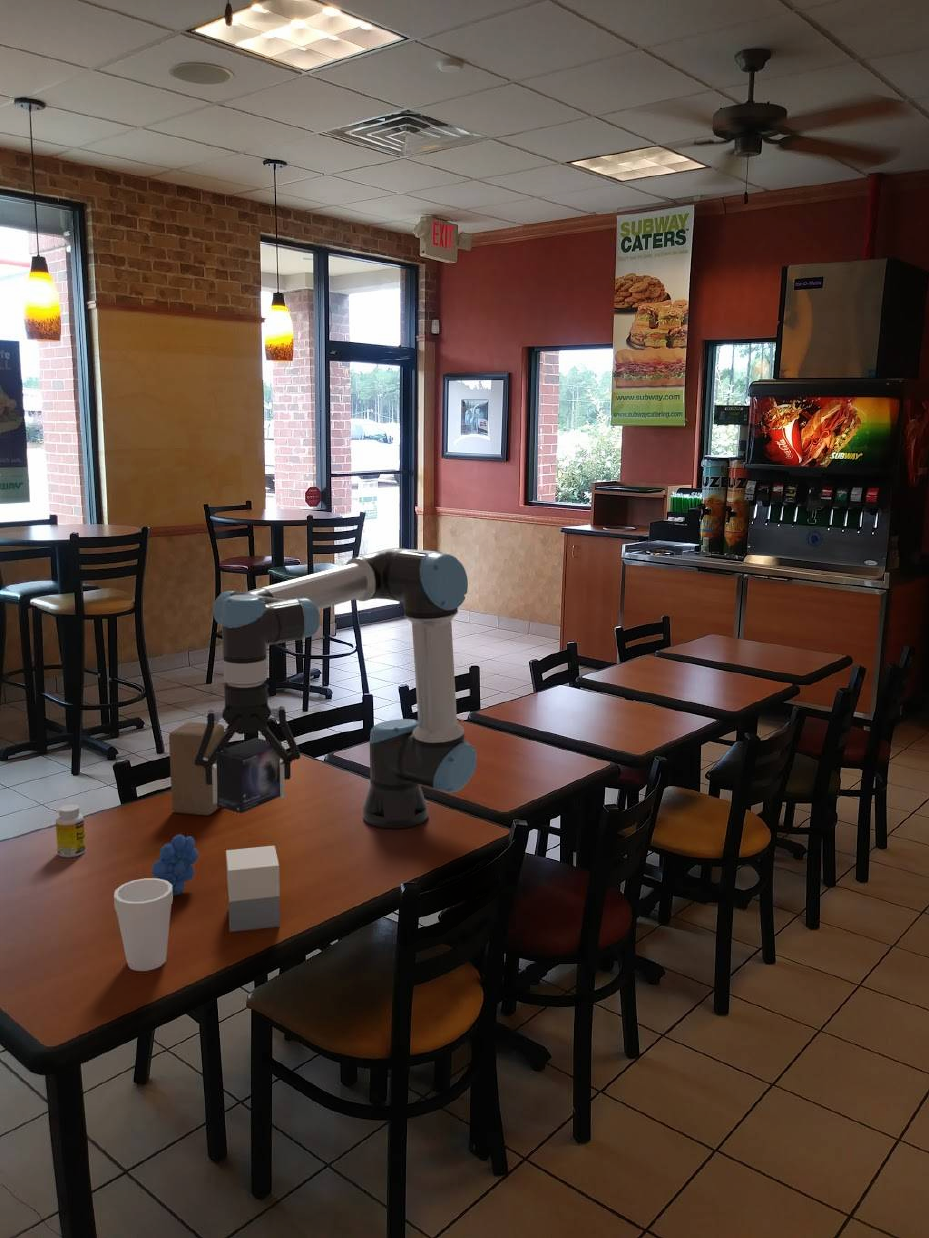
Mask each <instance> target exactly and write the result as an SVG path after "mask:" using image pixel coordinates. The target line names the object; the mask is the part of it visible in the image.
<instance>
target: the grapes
mask: <svg viewBox="0 0 929 1238" xmlns="http://www.w3.org/2000/svg"><path fill="white" fill-rule="evenodd" d="M195 844H196V841H195V839H194V837H193V836H192V835H191V836H190V835H188V836H186V837H185V835H183V834H182V833H179V834H176V835H175V836H174V837H173V838H172V840H171V842H169V843H165V844H164V845H163V846H162V847H161V848H160V850H159V858H160V859H159V860H157V861H155V862H154V863H153V865H152V867H151V874H152V875H153V877H154V878H158V879H162V880H167V881H168V882H169V883H170V884H172V891H173V896H178V895H180V894H182V892H183V891H184V889H185V882H189V881H190V880H192V878H193V877H194V875H195V868H194V867H193V864H194V863H196V862H197V860H198V859H199V852H198V850H197V849H196V848H195Z"/></svg>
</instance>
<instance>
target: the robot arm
mask: <svg viewBox="0 0 929 1238" xmlns="http://www.w3.org/2000/svg"><path fill="white" fill-rule="evenodd" d="M468 586H469V581H468V575H467V571H466V568H465V566H464V565H463V563H462V562H461V561H460V560H458V558H457V557H456V556H454V555H451V554H448V553H443V552H442V551H437V550H436V551H433V550H425V549H424V550H422V549H411V548H407V547H405V548H403V547H393V548H386V549H382V550H379V551H374V552H371V553H367V554H363V555H360V556H357V557H353V558H350V559H349V560H348V561H346V563H345V565H341V566H338V567H337V566H336V567H334V568H331V569H330V568H329V569H327V570H323V571H318V572H315V573H311V574H307V575H303V576H301V577H296V578H293V579H289V580H286V581H285V580H284V581H282V582H278V583H274V584H271V585H266V586H263V587H260V588H255V589H252V590H247V591H239V590H227V591H224V592H222V593H221V594H219V595H218V596H217V597H216V599H215V601H214V603H213V608H212V611H213V612H212V613H213V618H214V620H215V621H216V623H217V624H218V625H219V627H221V633H222V635H221V636H222V637H221V638H222V639H221V640H222V652H223V653H222V654H223V655H222V656H223V657H222V658H223V659H222V660H223V662H222V663H223V665H222V666H223V680H224V682H225V685H224V686H223V688H224V689H223V690H224V694H223V695H224V708H223V710H222V711H214V710H213V709H212V710H211V709H210V710H208V711H207V716H206V718H207V719H206V723H207V726H206V728H205V731H204V734H203V737H202V740H201V743H200V745H199V748H198V751H197V754H196V757H195V765H197V766H203V767H204V768H205V772H206V784H207V785H213V804H215V803H217V765H216V764H214V763H215V761H216V760H217V756H216V752H217V751H223V749H224V748H225V749H226V746H227V745H228V743H229V742H230V740H231V739H232V738H233V737H234V735H235V734H238V735H244V734H247V733H249V734H257V733H258V732H259V733H260V734H261V735H262V737H264V738H265V740H266V741H268V742H269V743H270V745H271V746H272V747H273V749H274V750H275V751H276V752H277V754H278V755H279V756H280V760H279V771H280V797H279V798H280V800H282V799H283V800H284V799H286V785H285V784H286V783H285V780H290V779H291V777H292V776H291V775H292V773H291V770H292V769H291V763H292V762H293V761H295V760H299V759H301V753H300V749H299V747H298V744H297V743H296V740H295V737H294V736H293V733H292V731H291V729H290V727H289V724H288V721H287V714H286V709H285V707H284V706H283V705H282V706H281V705H280V706H279V707H277V708H270V707H269V704H268V703H269V702H268V683H267V682H266V681H267V680H268V666H267V660H268V659H267V656H268V655H267V649H268V648H267V646H271V645H276V644H282V643H287V642H288V643H289V642H294V641H301V640H303V639H307V638H309V637H312V636H314V635H315V634H316V633H317V631H318V630H319V628H320V625H321V621H320V620H321V618H320V617H321V615H320V614H321V613H320V611H321V610H324V609H327V608H331V607H334V606H337V605H339V604H340V605H341V604H343V603H346V602H349V601H354V600H355V601H359V602H367V601H370V600H377V599H378V600H390V601H395V602H399V603H400V602H401V603H403V615H404V617H405V618H406V620H408V621H409V622H410V623H411V627H412V628H411V630H412V643H413V659H414V676H415V689H416V691H415V692H416V693H415V694H416V705H417V706H416V707H417V719H414V718H413V719H411V718H399V719H390V720H386V721H382V722H379V723H376V724H375V725H373V727H372V728H371V730H370V734H369V735H370V737H369V738H370V740H369V766H370V767H369V771H370V772H369V774H370V775H369V776H370V778H369V779H370V786H369V789H368V792H367V795H366V799H365V801H364V805H363V808H362V815H363V816H362V818H363V820H364V821H365V822H366V823H367V824H369V825H371V826H374V827H377V828H382V829H390V830H391V829H394V830H395V829H397V830H398V829H404V828H405V829H407V828H411V827H414V826H415V827H416V826H418V825H420V824H423V823H424V822H425V821H426V820H427V818H428V805H427V802H426V800H425V796H424V793H423V791H422V790H423V789H422V787H421V786H424V787H428V788H430V789H434V790H435V791H438V792H445V793H457V792H458V791H460V790H462V789H464V787H465V786H467V784H468V783H469V781H470V780H471V778H472V776H473V774H474V772H475V770H476V766H477V761H478V760H477V758H478V757H477V751H476V749H475V747H473V745H472V744H471V743H470V742H467V741H465V740H466V737H465V728H464V727H463V726H462V725H461V724H460V723H459V722H458V719H457V717H458V715H457V698H456V681H455V663H454V662H455V661H454V645H453V644H454V643H453V642H454V641H453V627H452V620H453V618H455V617H456V616H457V614H458V613H459V607H461V605H462V604H463V603H464V602H465V600H466V596H465V595H467V594H468V589H469V587H468ZM271 716H272V717H273V718H274V720H275V721H276V722H277V721H278V722H279V727H280V728H281V731H282V733H283V735H284V737H285V740H286V743H287V745H288V747H289V749H290V752H288V751H287V750H286V749H285V747H284V746H283V744H282V743H281V742H280V741H279V740H278V738H277V737H276V736H275V734H274V733H273V732H272V731H271V729H270V727H269V726H268V724H267V723H266V722H267V721H268V719H269V718H270V717H271ZM221 719H223V720H224V721H225V723H226V724H227V726H226V728H225V729H224V733H223V735H222V736H221V738H220V739H219V741H218V742H217V744H216V745H215V747H214V748H213V750H212V751H211V753H210V754H209V756H208V757H207V758H204V755H205V752H206V749H207V747H208V744H209V741H210V738H211V735H212V733H213V730H214V724H220V720H221Z"/></svg>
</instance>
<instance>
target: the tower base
mask: <svg viewBox="0 0 929 1238" xmlns="http://www.w3.org/2000/svg"><path fill="white" fill-rule="evenodd" d="M227 896H228V921H229V922H228V923H229V924H228V926H229V928H228V929H229V930H228V931H229V932H230V933H231V932H239V931H241V932H242V931H249V930H259V929H260V930H261V929H268V928H269V929H270V928H276V927H277V928H278V927H280V926H281V923H280V920H281V918H280V916H281V915H280V914H281V913H280V896H276V897H267V898H258V899H249V900H240V901H231V902H229V894H228V893H227Z"/></svg>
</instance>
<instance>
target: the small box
mask: <svg viewBox="0 0 929 1238" xmlns="http://www.w3.org/2000/svg"><path fill="white" fill-rule="evenodd" d="M216 756H217V806H218V807H219V808H222V809H224V810H229V811H231V812H235V813H239V814H243V813H246V812H247V811H250V810H252V809H255V808H256V807H259V806H261V805H264V804H267V803H269V802H271V801H273V800H276V799H277V798H281V797H280V771H279V760H281V757H280V756H279V755H278V754H277V752H276V751H275V750H274V749H273V747H272V746H271V745H270V743H269V742H268V741H267V740H266V739H264V738H263V739H262V738H258V737H254V738H252V739H249V740H246V741H243V742H240V743H237V744H233V746H229V747H227V748H226V747H225V749H223V751H217V752H216Z"/></svg>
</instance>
